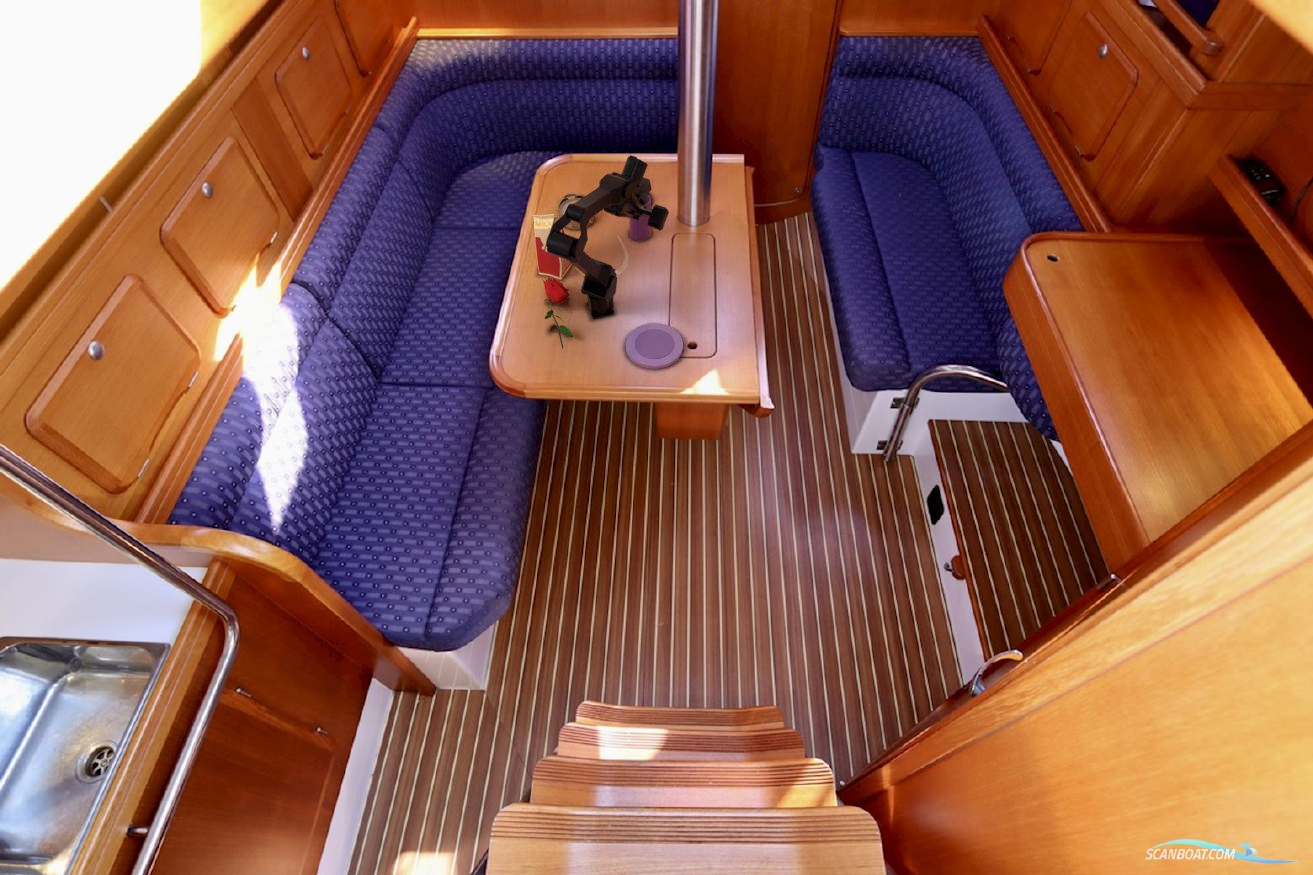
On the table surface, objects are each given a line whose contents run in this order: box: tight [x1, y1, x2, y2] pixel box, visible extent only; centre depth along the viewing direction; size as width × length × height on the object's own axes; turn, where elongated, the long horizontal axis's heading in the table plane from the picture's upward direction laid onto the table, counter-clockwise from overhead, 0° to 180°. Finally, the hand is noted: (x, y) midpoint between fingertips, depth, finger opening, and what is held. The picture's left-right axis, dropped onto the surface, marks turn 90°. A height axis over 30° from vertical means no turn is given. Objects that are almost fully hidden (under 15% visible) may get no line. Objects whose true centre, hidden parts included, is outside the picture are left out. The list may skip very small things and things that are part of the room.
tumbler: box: [628, 195, 652, 242], centre depth 203 cm, size 7×7×13 cm
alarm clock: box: [557, 193, 595, 230], centre depth 212 cm, size 11×5×15 cm
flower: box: [542, 276, 575, 350], centre depth 183 cm, size 9×9×30 cm
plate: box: [625, 322, 684, 370], centre depth 181 cm, size 16×16×1 cm
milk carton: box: [530, 213, 573, 281], centre depth 191 cm, size 9×9×20 cm
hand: (644, 219), depth 193 cm, fingers open, 9 cm apart
